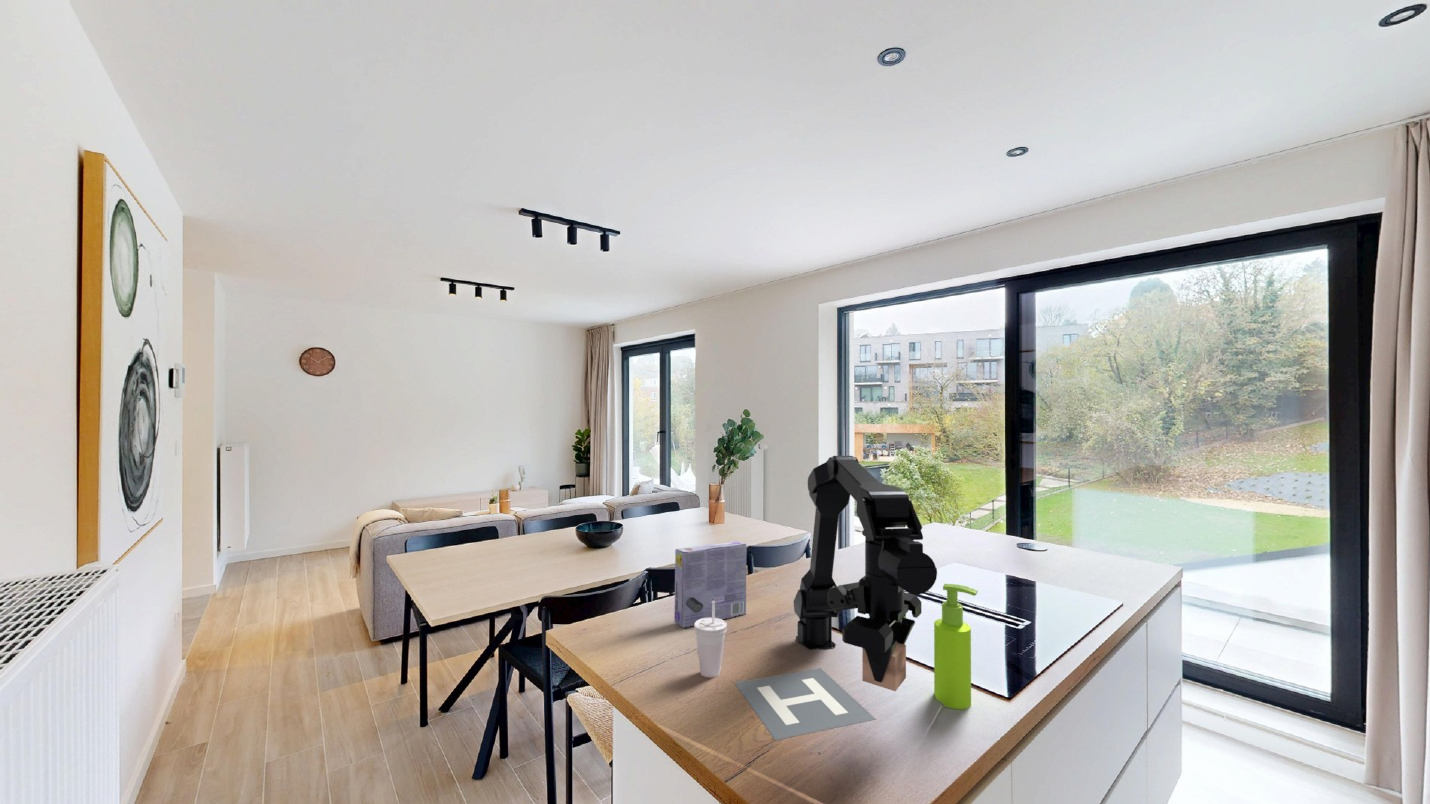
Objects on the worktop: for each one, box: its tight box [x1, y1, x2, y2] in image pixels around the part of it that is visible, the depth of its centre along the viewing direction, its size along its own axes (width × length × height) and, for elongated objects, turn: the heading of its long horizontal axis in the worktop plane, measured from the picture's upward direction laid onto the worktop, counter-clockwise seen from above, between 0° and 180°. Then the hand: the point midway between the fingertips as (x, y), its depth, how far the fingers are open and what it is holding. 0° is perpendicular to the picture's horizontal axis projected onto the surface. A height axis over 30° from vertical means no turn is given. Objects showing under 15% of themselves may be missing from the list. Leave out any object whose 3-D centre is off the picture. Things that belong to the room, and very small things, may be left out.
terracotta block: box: [861, 643, 907, 692], centre depth 81 cm, size 5×5×5 cm
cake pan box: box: [673, 541, 748, 629], centre depth 129 cm, size 19×5×18 cm, turn 121°
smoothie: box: [693, 601, 728, 678], centre depth 102 cm, size 6×6×14 cm
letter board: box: [733, 667, 877, 741], centre depth 92 cm, size 18×18×1 cm
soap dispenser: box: [933, 583, 979, 710], centre depth 93 cm, size 6×7×20 cm
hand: (884, 674), depth 81 cm, fingers closed on terracotta block, 5 cm apart
